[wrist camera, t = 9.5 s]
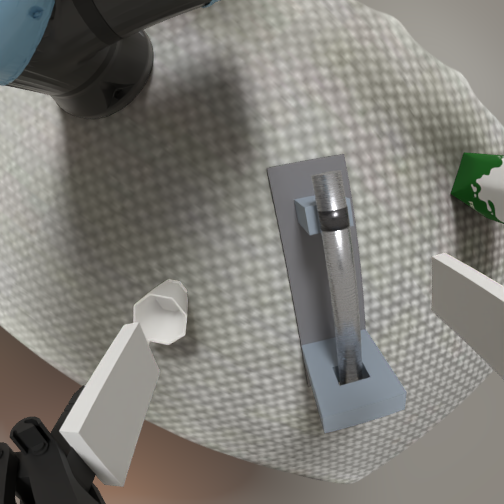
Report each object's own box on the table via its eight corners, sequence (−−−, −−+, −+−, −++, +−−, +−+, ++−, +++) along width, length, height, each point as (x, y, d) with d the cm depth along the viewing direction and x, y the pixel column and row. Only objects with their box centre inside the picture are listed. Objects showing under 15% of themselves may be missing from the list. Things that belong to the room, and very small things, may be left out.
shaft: (307, 175, 31) (314, 176, 28) (336, 170, 31) (345, 170, 28) (337, 378, 38) (342, 392, 36) (359, 372, 38) (366, 386, 35)
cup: (206, 286, 43) (199, 313, 35) (174, 338, 45) (162, 370, 37) (162, 260, 42) (145, 281, 34) (133, 314, 44) (114, 342, 36)
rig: (266, 168, 39) (281, 171, 23) (342, 154, 38) (398, 152, 23) (307, 383, 48) (327, 458, 33) (365, 368, 48) (400, 435, 32)
